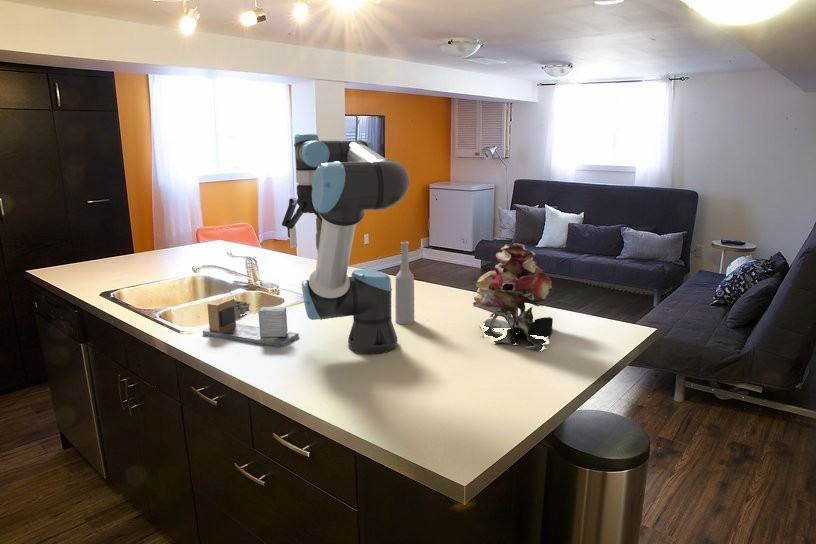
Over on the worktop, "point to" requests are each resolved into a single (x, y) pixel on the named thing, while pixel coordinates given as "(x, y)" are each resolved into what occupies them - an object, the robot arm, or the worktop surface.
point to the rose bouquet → (514, 296)
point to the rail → (238, 326)
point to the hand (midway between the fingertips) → (311, 249)
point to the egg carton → (240, 308)
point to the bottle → (404, 290)
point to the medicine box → (273, 322)
